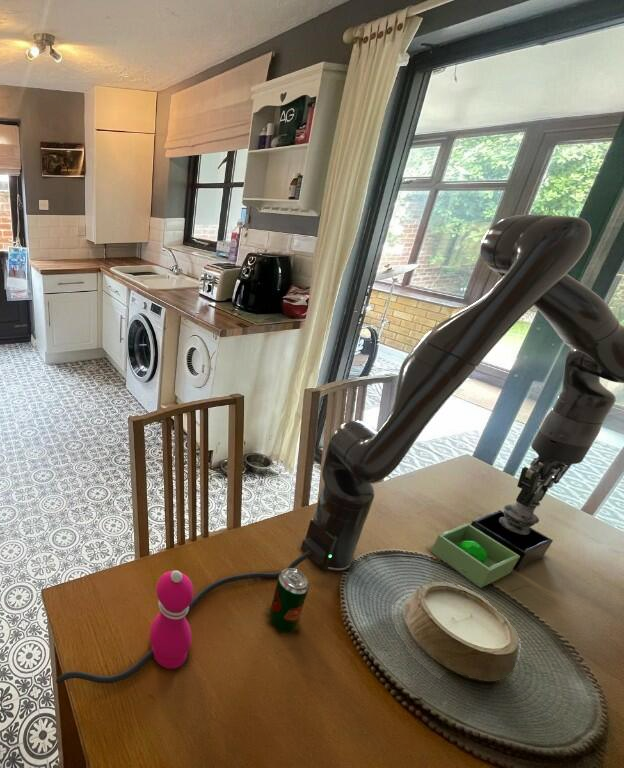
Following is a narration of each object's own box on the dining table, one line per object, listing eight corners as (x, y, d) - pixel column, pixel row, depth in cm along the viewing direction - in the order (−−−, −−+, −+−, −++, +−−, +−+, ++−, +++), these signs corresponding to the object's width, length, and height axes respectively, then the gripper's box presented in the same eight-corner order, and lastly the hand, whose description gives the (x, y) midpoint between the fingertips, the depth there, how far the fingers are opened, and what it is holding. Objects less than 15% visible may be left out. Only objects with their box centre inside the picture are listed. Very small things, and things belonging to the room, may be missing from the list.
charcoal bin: (515, 570, 89) (525, 553, 87) (464, 537, 98) (472, 520, 95) (542, 556, 92) (553, 540, 90) (491, 525, 101) (499, 509, 99)
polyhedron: (485, 572, 88) (494, 556, 86) (457, 565, 89) (466, 549, 87) (476, 555, 92) (485, 539, 90) (450, 548, 94) (458, 533, 92)
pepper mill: (179, 680, 69) (189, 601, 60) (141, 657, 72) (145, 578, 64) (195, 644, 74) (206, 566, 66) (159, 624, 78) (165, 547, 69)
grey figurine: (538, 537, 89) (565, 494, 84) (507, 533, 90) (532, 490, 85) (520, 518, 94) (544, 476, 89) (491, 514, 95) (513, 473, 90)
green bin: (480, 588, 85) (490, 570, 83) (430, 551, 94) (438, 535, 91) (510, 573, 88) (520, 556, 86) (459, 539, 97) (467, 523, 95)
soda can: (283, 639, 75) (296, 595, 70) (262, 616, 79) (273, 572, 74) (302, 627, 77) (316, 583, 72) (281, 605, 81) (292, 562, 76)
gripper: (561, 419, 87) (526, 483, 95) (522, 431, 83) (488, 498, 90) (610, 437, 81) (568, 504, 88) (570, 452, 76) (529, 521, 84)
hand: (528, 501), depth 89 cm, fingers closed on grey figurine, 3 cm apart
